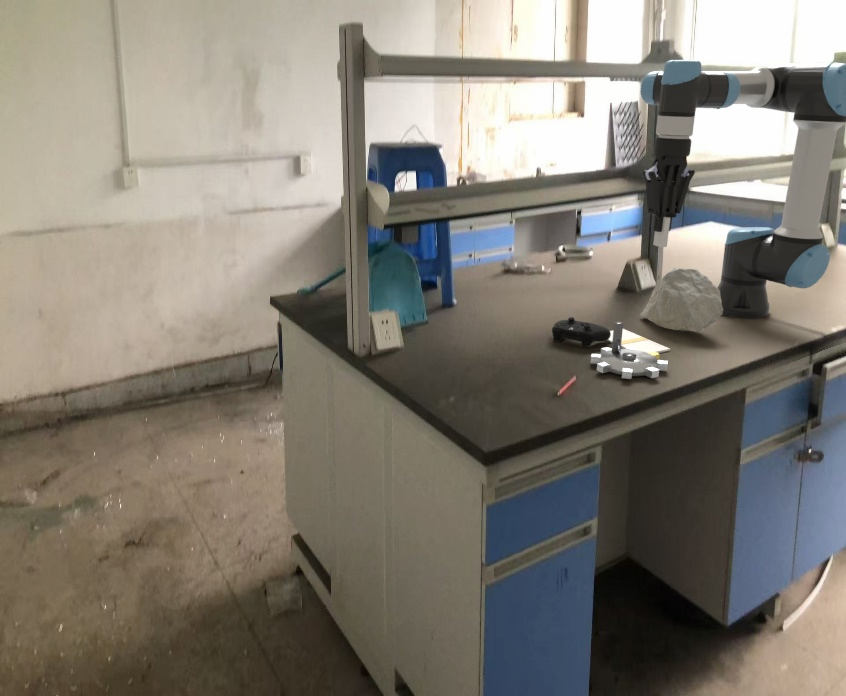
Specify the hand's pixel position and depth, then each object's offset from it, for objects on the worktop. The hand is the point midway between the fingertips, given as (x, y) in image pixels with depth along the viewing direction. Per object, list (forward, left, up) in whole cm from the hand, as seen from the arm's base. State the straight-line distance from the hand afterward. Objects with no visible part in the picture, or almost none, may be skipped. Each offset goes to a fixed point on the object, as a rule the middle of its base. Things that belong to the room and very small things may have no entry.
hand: (660, 245), depth 176 cm
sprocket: (+10, +4, -26) cm, 28 cm away
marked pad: (-2, -9, -26) cm, 28 cm away
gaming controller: (+9, -16, -26) cm, 32 cm away
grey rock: (-20, -12, -26) cm, 36 cm away
